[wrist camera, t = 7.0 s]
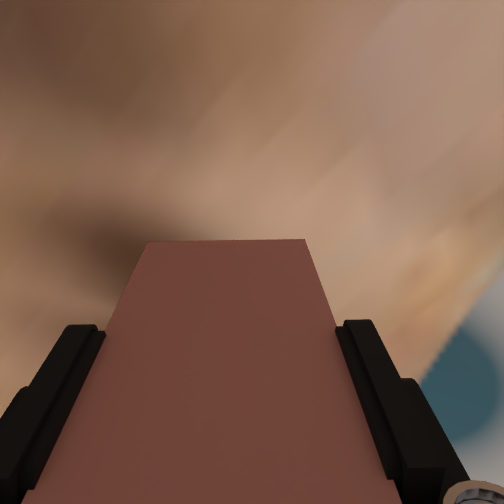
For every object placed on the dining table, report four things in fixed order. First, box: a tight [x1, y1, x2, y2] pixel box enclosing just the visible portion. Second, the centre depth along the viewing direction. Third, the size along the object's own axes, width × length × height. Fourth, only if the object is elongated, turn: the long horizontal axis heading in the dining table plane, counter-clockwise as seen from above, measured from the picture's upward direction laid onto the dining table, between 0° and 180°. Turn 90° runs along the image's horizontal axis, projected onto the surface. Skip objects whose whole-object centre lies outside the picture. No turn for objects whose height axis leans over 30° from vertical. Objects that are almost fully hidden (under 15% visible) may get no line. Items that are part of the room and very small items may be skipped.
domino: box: [21, 239, 402, 504], centre depth 10 cm, size 2×5×10 cm, turn 90°
